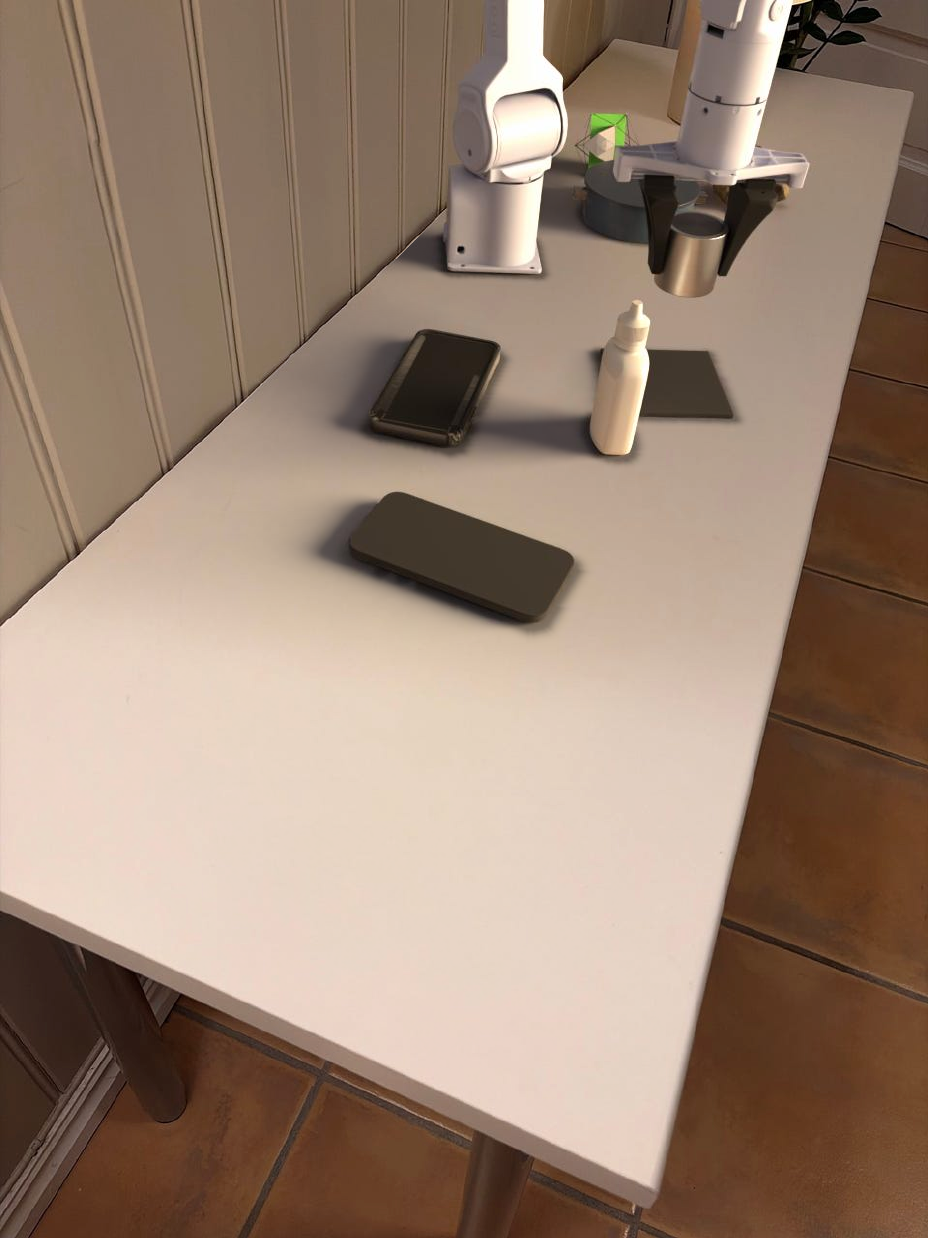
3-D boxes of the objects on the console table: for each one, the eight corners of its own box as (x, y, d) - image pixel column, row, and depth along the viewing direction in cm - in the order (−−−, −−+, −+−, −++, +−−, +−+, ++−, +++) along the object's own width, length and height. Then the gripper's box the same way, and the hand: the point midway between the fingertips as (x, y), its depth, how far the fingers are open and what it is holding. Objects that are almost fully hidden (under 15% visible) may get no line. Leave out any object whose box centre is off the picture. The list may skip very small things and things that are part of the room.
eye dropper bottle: (573, 446, 79) (596, 310, 71) (598, 411, 83) (622, 278, 74) (623, 463, 78) (653, 327, 70) (646, 427, 82) (677, 294, 73)
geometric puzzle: (569, 136, 119) (584, 94, 111) (624, 137, 120) (642, 95, 112) (572, 192, 118) (587, 153, 110) (628, 192, 119) (647, 154, 111)
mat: (616, 415, 83) (617, 411, 82) (600, 351, 90) (600, 347, 89) (732, 418, 84) (733, 414, 83) (707, 354, 90) (708, 350, 90)
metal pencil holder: (658, 296, 80) (671, 236, 76) (649, 267, 83) (661, 208, 80) (719, 299, 80) (734, 239, 76) (707, 269, 83) (722, 211, 80)
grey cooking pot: (577, 242, 105) (583, 204, 102) (564, 191, 113) (568, 156, 110) (711, 246, 106) (721, 210, 103) (688, 196, 114) (696, 161, 111)
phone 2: (540, 621, 65) (341, 545, 68) (538, 630, 65) (341, 554, 69) (579, 554, 69) (391, 486, 73) (577, 562, 70) (391, 495, 74)
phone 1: (365, 418, 78) (419, 326, 88) (365, 430, 79) (419, 337, 89) (460, 438, 77) (504, 342, 87) (459, 449, 78) (503, 353, 88)
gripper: (638, 107, 68) (606, 290, 77) (842, 116, 69) (785, 296, 79) (622, 72, 73) (594, 249, 82) (812, 81, 74) (762, 254, 83)
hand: (686, 269), depth 81 cm, fingers closed on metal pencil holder, 5 cm apart
